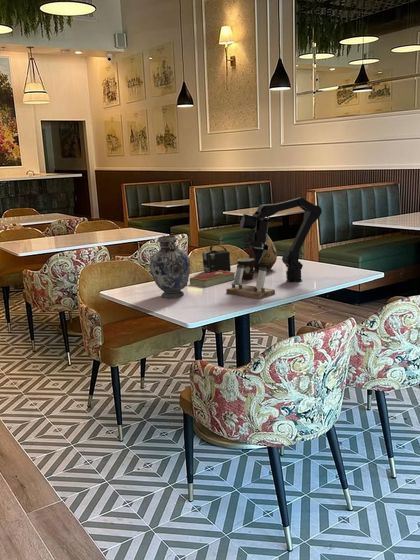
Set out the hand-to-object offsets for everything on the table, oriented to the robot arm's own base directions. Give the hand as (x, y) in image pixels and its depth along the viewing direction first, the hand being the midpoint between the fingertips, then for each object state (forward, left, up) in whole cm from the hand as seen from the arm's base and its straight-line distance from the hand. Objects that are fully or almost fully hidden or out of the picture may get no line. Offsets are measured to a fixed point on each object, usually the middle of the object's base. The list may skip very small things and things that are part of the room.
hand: (257, 263), depth 254 cm
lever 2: (+2, +20, -8) cm, 22 cm away
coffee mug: (+2, -19, -11) cm, 22 cm away
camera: (+18, -46, -11) cm, 50 cm away
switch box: (+5, +14, -11) cm, 18 cm away
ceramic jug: (-8, -40, -11) cm, 42 cm away
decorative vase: (+41, +5, -11) cm, 43 cm away
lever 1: (+11, +9, -8) cm, 17 cm away
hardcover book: (+21, -18, -12) cm, 30 cm away
